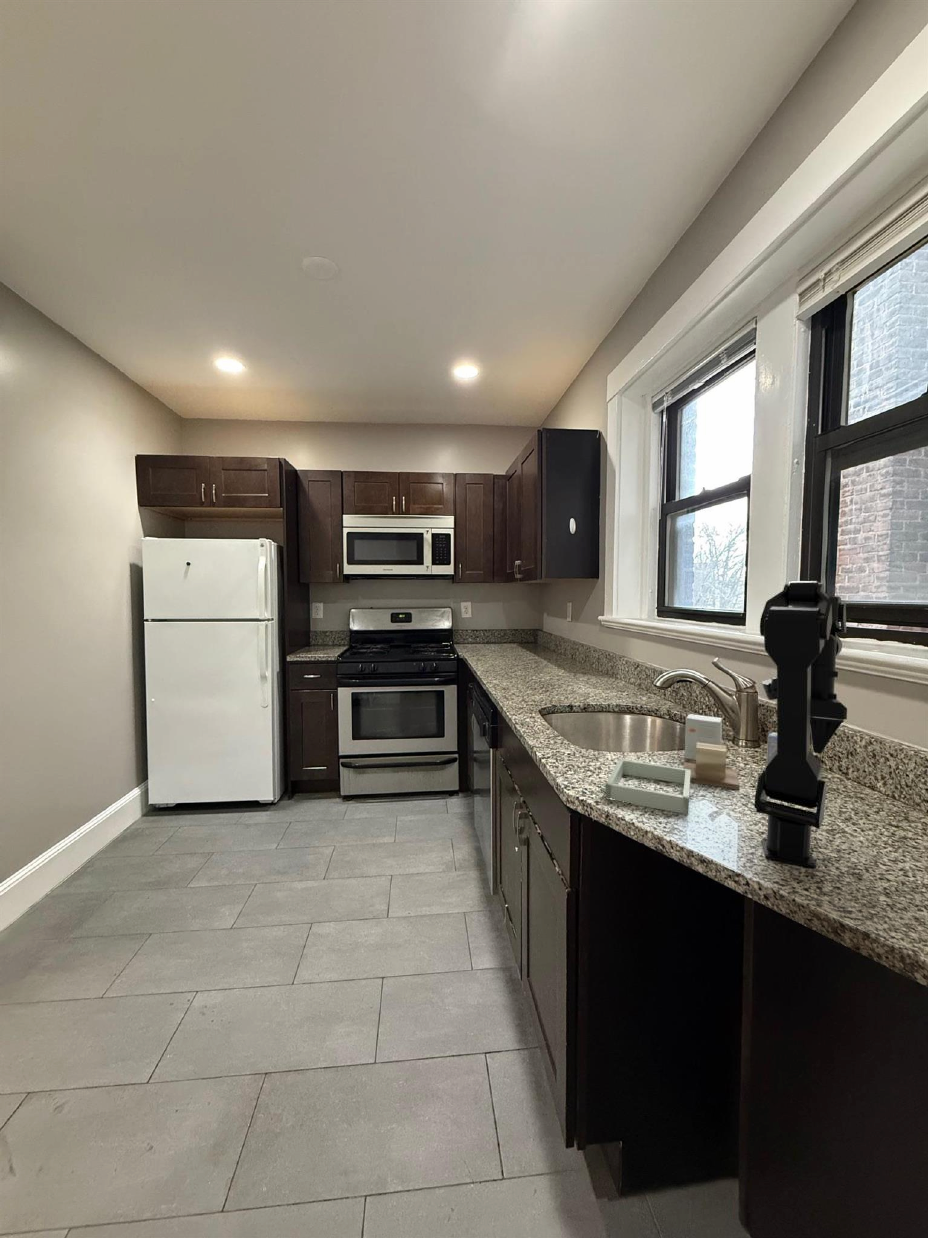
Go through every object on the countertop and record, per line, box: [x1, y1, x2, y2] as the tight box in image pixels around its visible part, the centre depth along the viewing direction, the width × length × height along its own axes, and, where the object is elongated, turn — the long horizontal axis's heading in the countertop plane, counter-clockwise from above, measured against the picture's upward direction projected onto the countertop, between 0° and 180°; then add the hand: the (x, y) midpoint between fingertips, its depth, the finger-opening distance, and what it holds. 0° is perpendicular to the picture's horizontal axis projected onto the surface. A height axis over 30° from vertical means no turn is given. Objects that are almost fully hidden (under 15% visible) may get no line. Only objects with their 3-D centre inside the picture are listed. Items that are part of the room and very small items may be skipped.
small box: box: [684, 713, 723, 761], centre depth 127 cm, size 8×6×10 cm
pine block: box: [695, 742, 728, 778], centre depth 114 cm, size 4×6×6 cm
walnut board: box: [683, 761, 740, 790], centre depth 114 cm, size 11×11×1 cm
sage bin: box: [605, 758, 691, 815], centre depth 105 cm, size 18×15×3 cm
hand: (812, 746), depth 94 cm, fingers open, 9 cm apart
